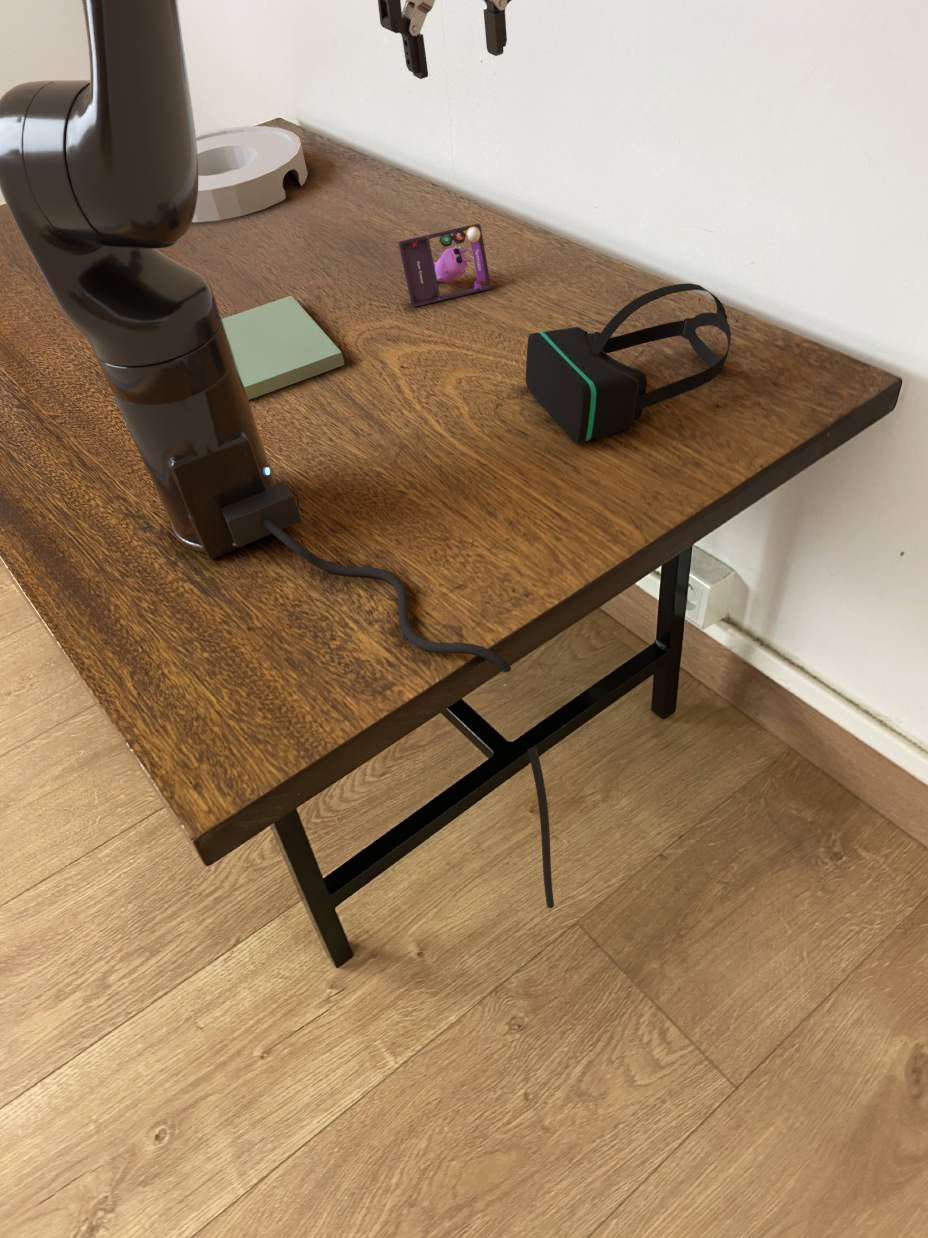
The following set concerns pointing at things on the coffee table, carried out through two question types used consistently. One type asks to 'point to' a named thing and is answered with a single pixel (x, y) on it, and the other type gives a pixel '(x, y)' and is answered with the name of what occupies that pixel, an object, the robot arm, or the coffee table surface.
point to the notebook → (279, 346)
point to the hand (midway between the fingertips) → (458, 64)
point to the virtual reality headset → (611, 369)
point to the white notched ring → (244, 170)
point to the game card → (442, 264)
